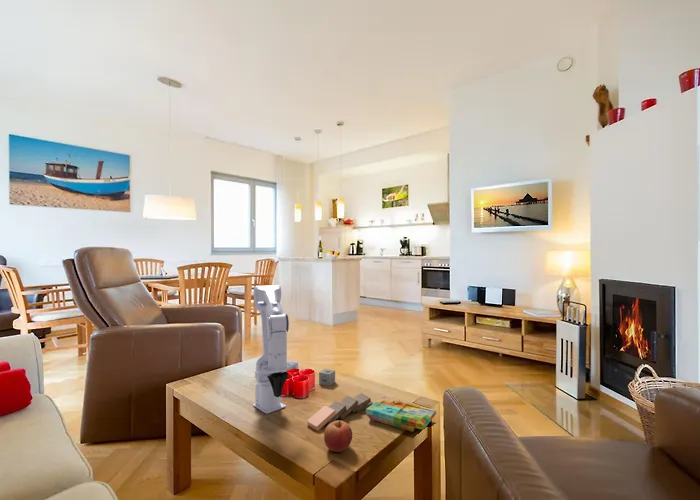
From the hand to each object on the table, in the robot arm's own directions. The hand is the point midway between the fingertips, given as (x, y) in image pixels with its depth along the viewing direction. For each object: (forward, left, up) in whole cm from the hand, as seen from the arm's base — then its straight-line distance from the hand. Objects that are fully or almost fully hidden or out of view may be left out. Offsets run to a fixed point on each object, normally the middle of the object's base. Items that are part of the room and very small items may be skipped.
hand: (277, 395), depth 108 cm
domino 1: (+8, +8, -9) cm, 14 cm away
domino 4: (+8, +24, -9) cm, 26 cm away
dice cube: (-17, +35, -10) cm, 41 cm away
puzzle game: (+24, +32, -10) cm, 41 cm away
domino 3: (+8, +18, -9) cm, 22 cm away
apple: (+22, +6, -10) cm, 25 cm away
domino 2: (+8, +12, -9) cm, 17 cm away
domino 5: (+8, +26, -10) cm, 28 cm away
